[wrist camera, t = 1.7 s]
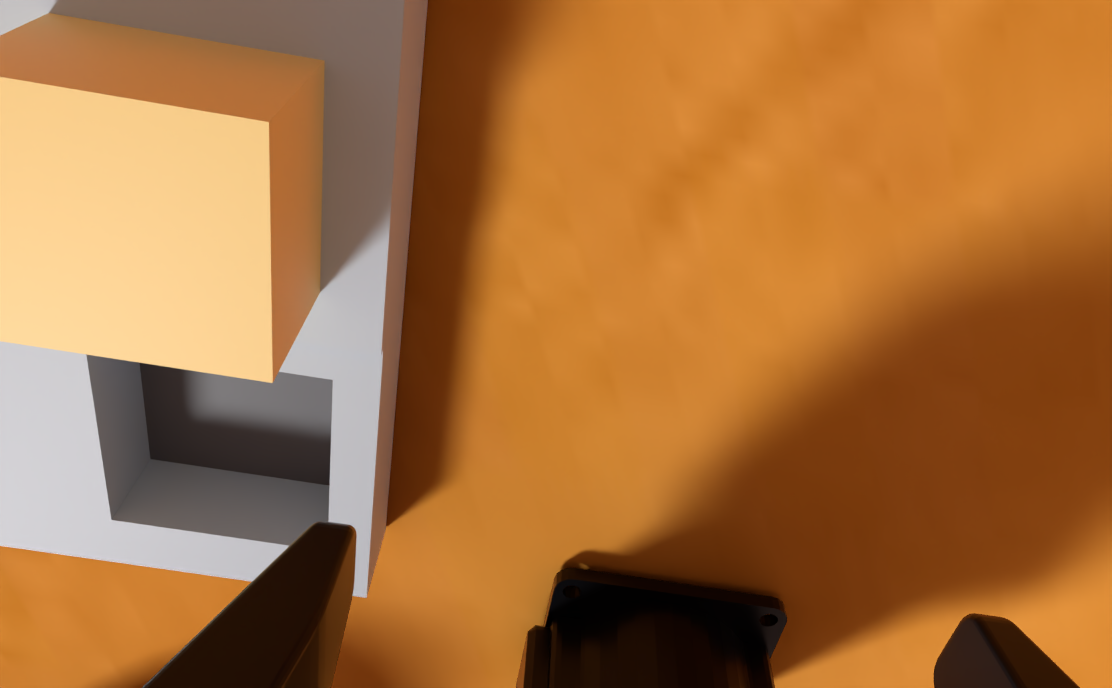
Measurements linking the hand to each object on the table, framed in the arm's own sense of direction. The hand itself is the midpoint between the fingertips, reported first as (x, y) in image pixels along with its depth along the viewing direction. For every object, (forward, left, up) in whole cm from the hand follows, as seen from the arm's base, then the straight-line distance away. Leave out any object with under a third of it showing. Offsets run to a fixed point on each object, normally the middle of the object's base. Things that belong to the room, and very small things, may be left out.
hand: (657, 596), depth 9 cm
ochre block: (+8, 0, -8) cm, 12 cm away
